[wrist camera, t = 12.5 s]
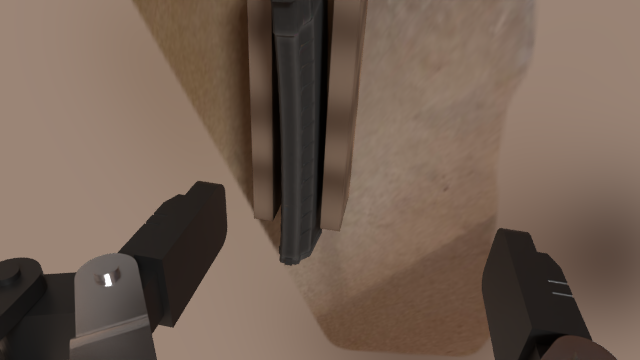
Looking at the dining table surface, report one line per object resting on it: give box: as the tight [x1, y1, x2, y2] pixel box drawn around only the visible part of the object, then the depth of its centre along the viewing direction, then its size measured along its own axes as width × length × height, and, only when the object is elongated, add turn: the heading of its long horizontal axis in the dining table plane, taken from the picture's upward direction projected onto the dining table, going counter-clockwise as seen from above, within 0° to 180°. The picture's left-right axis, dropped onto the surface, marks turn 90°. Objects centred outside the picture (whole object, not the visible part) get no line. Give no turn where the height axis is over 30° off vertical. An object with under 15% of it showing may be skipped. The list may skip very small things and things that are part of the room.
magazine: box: [270, 0, 328, 266], centre depth 40 cm, size 17×3×30 cm
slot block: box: [247, 0, 368, 231], centre depth 41 cm, size 24×9×7 cm, turn 177°
